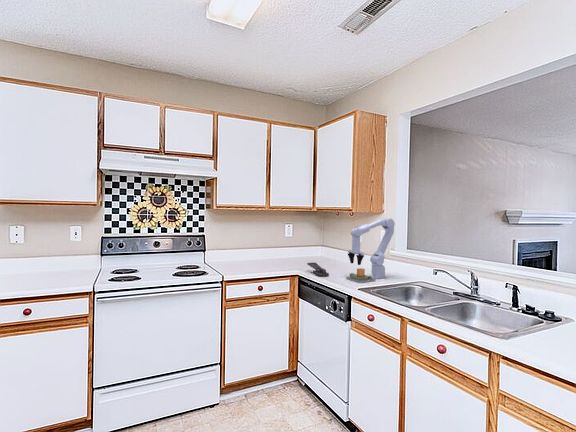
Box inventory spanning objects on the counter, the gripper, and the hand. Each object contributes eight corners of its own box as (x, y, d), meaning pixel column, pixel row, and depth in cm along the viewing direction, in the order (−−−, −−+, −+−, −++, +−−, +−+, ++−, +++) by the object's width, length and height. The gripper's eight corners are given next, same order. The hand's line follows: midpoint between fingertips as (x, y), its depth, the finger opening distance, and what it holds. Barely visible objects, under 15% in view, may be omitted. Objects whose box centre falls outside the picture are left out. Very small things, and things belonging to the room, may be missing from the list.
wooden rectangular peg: (361, 279, 232) (361, 268, 232) (364, 280, 229) (364, 268, 229) (356, 280, 230) (356, 268, 229) (359, 281, 227) (359, 269, 227)
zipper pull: (316, 262, 263) (330, 267, 239) (316, 270, 263) (330, 276, 240) (305, 262, 260) (319, 268, 236) (305, 271, 260) (319, 277, 236)
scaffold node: (358, 276, 242) (358, 271, 242) (375, 281, 227) (375, 275, 227) (343, 278, 235) (343, 272, 235) (360, 283, 220) (360, 277, 220)
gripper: (345, 244, 241) (344, 262, 241) (358, 246, 229) (358, 266, 229) (352, 244, 245) (352, 262, 245) (366, 246, 232) (365, 265, 233)
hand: (355, 264), depth 237 cm, fingers open, 7 cm apart
